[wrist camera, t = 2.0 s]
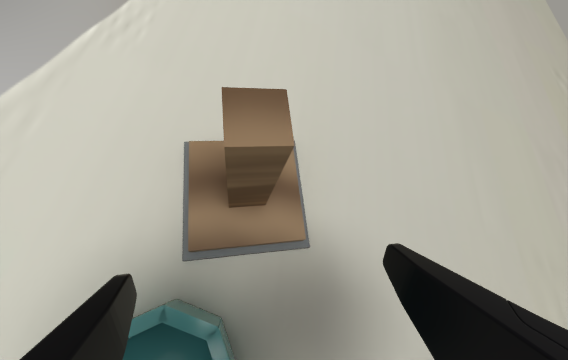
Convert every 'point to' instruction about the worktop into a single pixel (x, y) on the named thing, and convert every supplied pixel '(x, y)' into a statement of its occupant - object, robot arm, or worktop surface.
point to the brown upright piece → (246, 176)
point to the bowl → (177, 335)
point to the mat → (239, 250)
